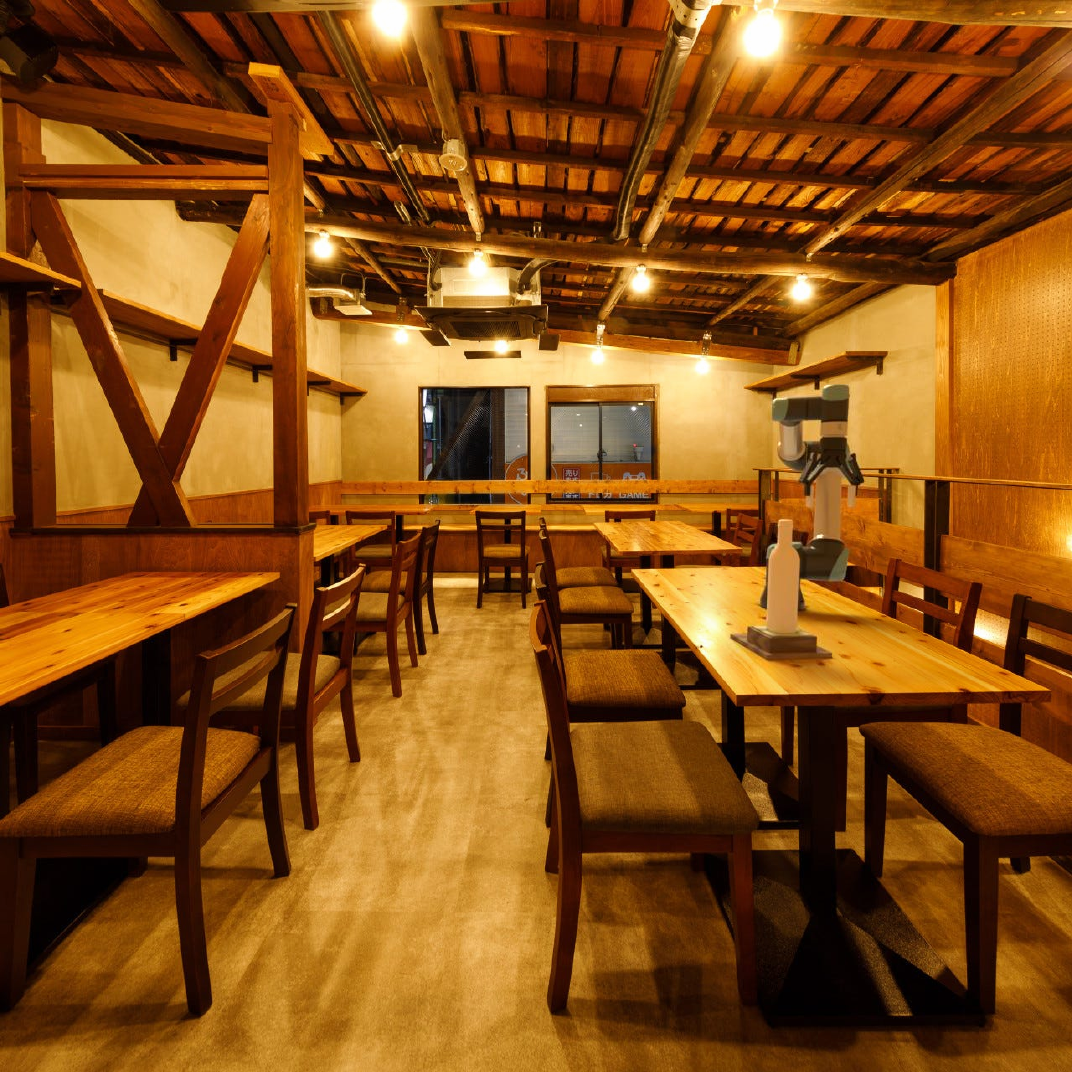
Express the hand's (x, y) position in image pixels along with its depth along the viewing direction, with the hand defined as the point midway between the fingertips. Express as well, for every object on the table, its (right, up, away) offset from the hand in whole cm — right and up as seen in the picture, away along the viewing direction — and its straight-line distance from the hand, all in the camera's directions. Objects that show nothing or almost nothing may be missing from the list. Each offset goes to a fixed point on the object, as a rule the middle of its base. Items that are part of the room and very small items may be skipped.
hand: (830, 506), depth 194 cm
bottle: (-24, -35, -23) cm, 48 cm away
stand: (-23, -40, -19) cm, 50 cm away
